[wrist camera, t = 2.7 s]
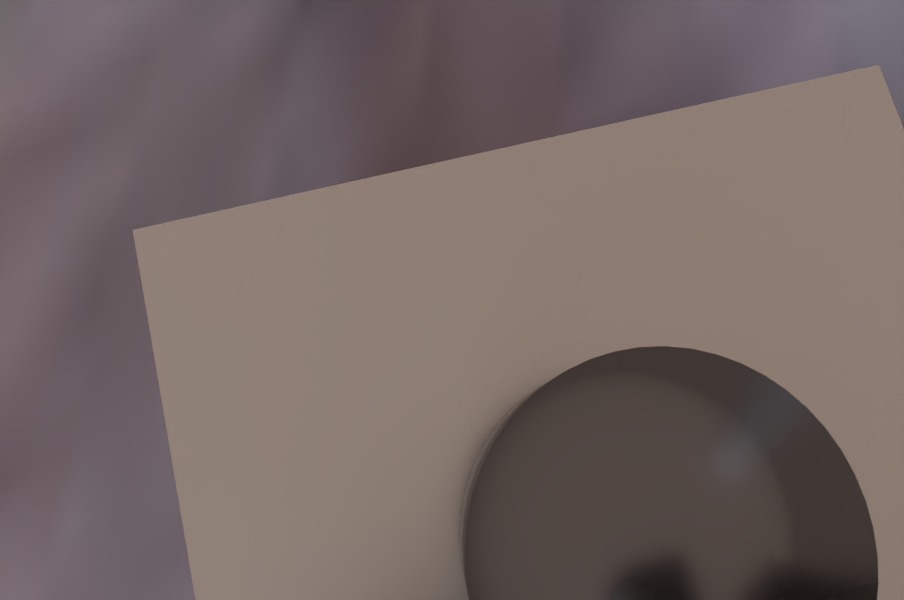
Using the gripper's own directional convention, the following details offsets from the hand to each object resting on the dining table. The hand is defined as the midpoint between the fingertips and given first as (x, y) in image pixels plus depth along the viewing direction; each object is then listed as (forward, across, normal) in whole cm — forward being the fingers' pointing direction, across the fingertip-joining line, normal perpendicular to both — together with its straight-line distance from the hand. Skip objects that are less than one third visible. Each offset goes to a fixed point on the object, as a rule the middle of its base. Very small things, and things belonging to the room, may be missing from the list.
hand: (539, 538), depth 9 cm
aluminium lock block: (+6, 0, +6) cm, 8 cm away
